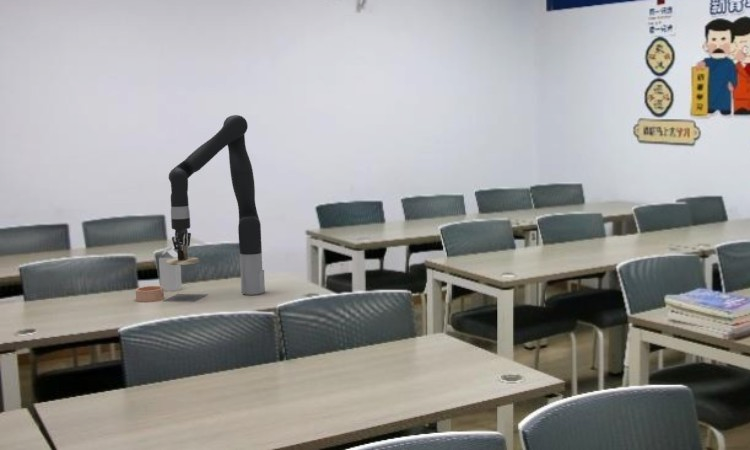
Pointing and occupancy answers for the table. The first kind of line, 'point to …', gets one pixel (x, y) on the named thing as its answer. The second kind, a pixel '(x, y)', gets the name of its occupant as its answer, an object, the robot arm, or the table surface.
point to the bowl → (149, 294)
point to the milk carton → (169, 271)
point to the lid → (185, 261)
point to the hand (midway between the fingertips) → (182, 258)
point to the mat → (186, 297)
